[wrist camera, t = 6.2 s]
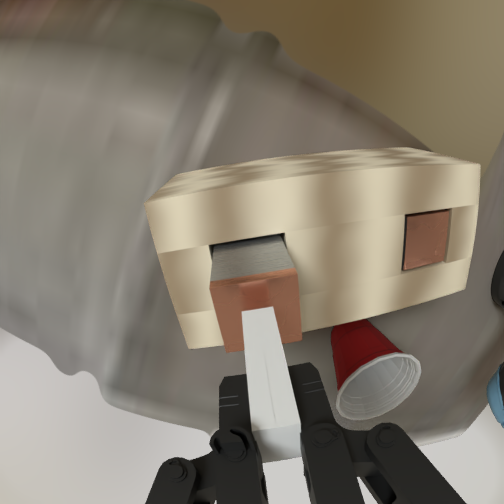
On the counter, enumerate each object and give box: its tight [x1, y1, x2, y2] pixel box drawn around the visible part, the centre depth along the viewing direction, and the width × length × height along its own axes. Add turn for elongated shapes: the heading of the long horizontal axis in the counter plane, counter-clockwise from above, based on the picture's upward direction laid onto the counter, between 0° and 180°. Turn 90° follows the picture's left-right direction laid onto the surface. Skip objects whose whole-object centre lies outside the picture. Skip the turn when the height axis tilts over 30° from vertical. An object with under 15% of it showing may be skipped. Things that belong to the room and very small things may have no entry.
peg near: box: [209, 233, 302, 353], centre depth 19 cm, size 4×4×9 cm
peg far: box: [401, 209, 449, 270], centre depth 24 cm, size 4×4×9 cm
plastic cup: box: [331, 319, 421, 420], centre depth 33 cm, size 11×11×12 cm
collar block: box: [144, 148, 480, 349], centre depth 25 cm, size 26×12×12 cm, turn 98°
